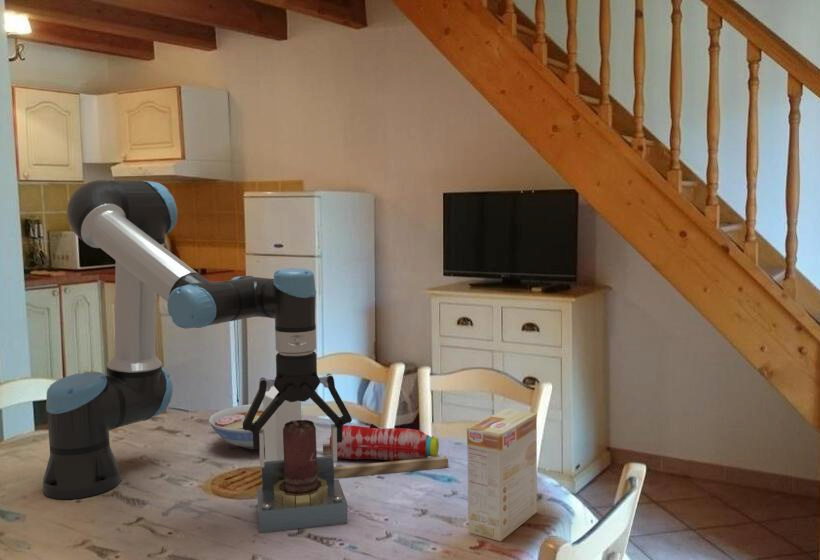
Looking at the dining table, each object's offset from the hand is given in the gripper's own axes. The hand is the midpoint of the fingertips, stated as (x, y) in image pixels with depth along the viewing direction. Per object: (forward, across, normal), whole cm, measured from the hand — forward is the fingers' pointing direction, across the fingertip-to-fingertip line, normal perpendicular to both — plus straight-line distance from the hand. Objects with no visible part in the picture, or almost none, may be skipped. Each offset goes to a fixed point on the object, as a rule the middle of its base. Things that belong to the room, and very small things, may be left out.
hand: (298, 462), depth 142 cm
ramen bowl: (+11, -7, +45) cm, 47 cm away
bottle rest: (+10, +21, +26) cm, 35 cm away
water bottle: (+11, +22, +27) cm, 37 cm away
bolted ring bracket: (+10, 0, 0) cm, 10 cm away
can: (+6, 0, -1) cm, 7 cm away
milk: (+11, -2, +19) cm, 22 cm away
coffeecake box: (+10, +36, -13) cm, 40 cm away
